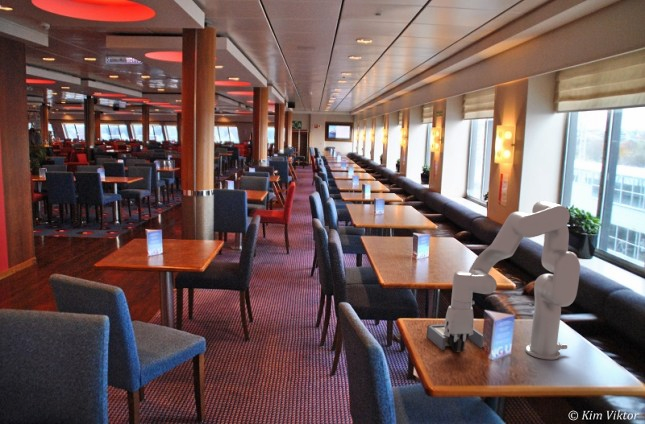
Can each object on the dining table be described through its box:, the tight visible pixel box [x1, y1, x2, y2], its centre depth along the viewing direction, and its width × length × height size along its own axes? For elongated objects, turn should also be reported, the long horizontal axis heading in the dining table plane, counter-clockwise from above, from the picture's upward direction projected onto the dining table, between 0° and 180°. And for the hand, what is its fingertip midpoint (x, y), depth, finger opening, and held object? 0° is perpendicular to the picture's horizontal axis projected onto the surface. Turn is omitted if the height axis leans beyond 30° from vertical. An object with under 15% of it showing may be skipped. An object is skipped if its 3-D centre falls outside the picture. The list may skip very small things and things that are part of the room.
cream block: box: [434, 327, 462, 352], centre depth 210 cm, size 6×16×6 cm, turn 14°
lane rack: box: [426, 323, 485, 351], centre depth 214 cm, size 18×14×5 cm
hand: (457, 349), depth 204 cm, fingers closed on cream block
